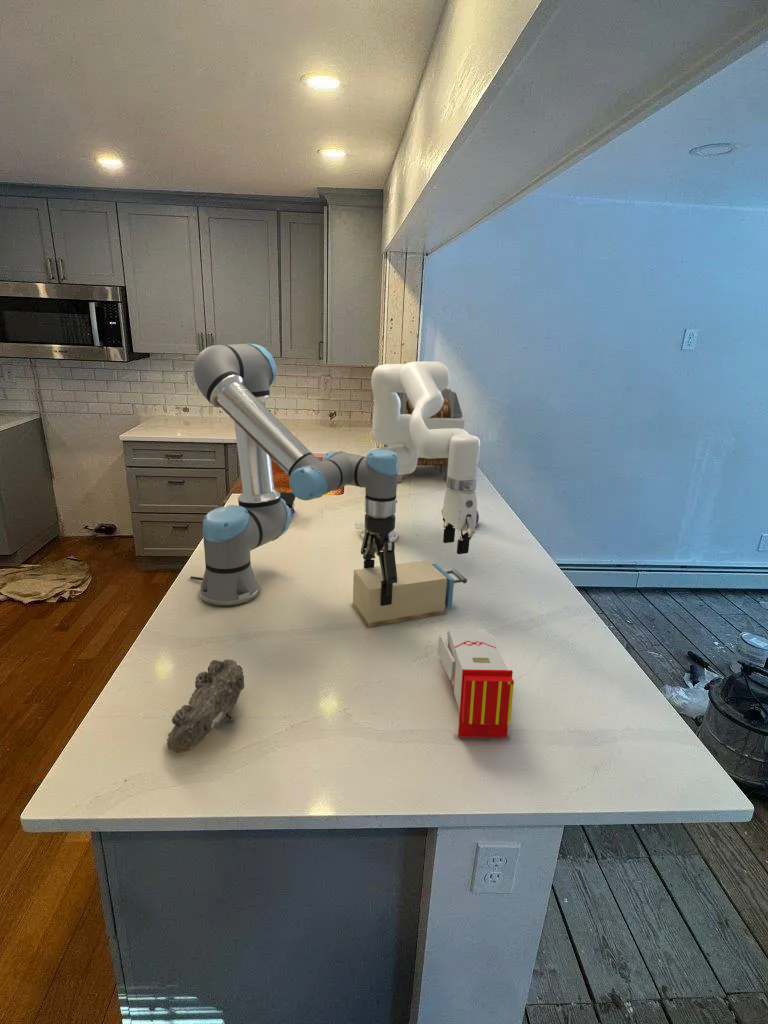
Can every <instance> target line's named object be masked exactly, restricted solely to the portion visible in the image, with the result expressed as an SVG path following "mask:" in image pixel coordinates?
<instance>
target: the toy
mask: <svg viewBox="0 0 768 1024" xmlns="http://www.w3.org/2000/svg"><path fill="white" fill-rule="evenodd" d="M446 640H447V643H446V641H445V639H444V636H443V635H442V634H439V637H438V646H437V656H438V657H439V659H440V661H441V663H442V666H443V668H444V670H445V672H446V674H447V677H448V679H449V681H450V684H451V687H452V690H453V693H454V697H455V701H456V705H457V708H458V711H459V714H458V715H459V716H458V730H457V731H458V732H457V737H458V738H508V731H509V726H510V725H511V717H512V707H513V697H514V696H513V695H514V684H515V680H514V679H513V673H514V671H513V670H512V669H508V667H507V665H506V662H505V661H504V659H503V658H502V655H501V653H500V651H499V649H498V647H497V643H496V639H495V637H494V635H493V634H491V632H490V631H489V629H467V628H466V629H465V628H463V629H461V628H460V629H459V628H448V630H447V639H446Z"/></svg>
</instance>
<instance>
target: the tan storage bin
mask: <svg viewBox="0 0 768 1024" xmlns="http://www.w3.org/2000/svg"><path fill="white" fill-rule="evenodd" d="M432 564H433V563H431V561H429V560H428V559H425V560H418V561H410V562H403V563H396V571H397V583H393V587H392V604H390V605H384V606H381V605H380V602H381V582H380V581H383V577H382V571H381V566H380V565H379V566H374V567H372V568H364V567H363V568H358V569H353V579H352V580H353V581H352V582H353V583H352V584H353V585H352V606H353V608H354V609H355V611H356V612H357V614H358V615H359V616H360V618H361V619H362V620H363V622H364V624H365V625H366V626H367V628H368V627H377V626H381V625H388V624H392V623H399V622H404V621H409V620H415V619H422V618H426V617H427V618H428V617H433V616H439V615H444V614H445V609H446V608H445V607H446V606H445V597H446V586H447V578H446V577H445V576H444V575H443V574H442V573H441V572H440V571H439V570H438V569H437V568H435V567H434V566H433V565H432Z"/></svg>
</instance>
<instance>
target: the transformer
mask: <svg viewBox="0 0 768 1024" xmlns="http://www.w3.org/2000/svg"><path fill="white" fill-rule="evenodd" d="M440 393H441V395H442V397H443V405H442V407H441V409H440V410H439V411H438V412H437V413H436V414H435V415H433V416H431V417H429V418H428V419H426V420H424V423H425V425H426V427H427V428H428V429H446V428H447V429H450V428H460V429H463V430H465V419H464V418H463V411H462V408H461V405H460V402H459V398H458V395H457V392H455V391H453V390H452V389H451V388H448V386H447V387H446V389H444V390H443V391H440ZM397 395H398V396H399V398H400V402H401V407H400V414H412V412H413V410H414V408H413V406H412V404H411V402H410V400H409V398H408V396H407V394H406V393H399V392H398V393H397ZM401 445H402V444H383V447H395V446H401ZM448 459H449V458H447V457H446V458H434V459H427V458H424V457H422V456H421V455H420V454H419V452H418V461H417V466H416V467H436V468H437V470H438V469H439V473H440V474H441V475H443V478H444V479H445V481H446V482H447V471H448ZM403 475H404V474H402V475H398V477H397V483H402V482H403Z"/></svg>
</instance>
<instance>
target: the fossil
mask: <svg viewBox="0 0 768 1024" xmlns="http://www.w3.org/2000/svg"><path fill="white" fill-rule="evenodd" d="M243 670H244V669H243V667H242V665H240V664H237V662H236V661H235V660H234V659H232V658H231V659H227V658H226V659H224V660H223V661H222V660H217V659H212V660H211V661H210V663H209V665H208V666H207V671H201V672H199V673H198V674H197V675H196V676H195V680H194V684H195V685H194V687H195V689H194V690H193V693H192V694H191V697H190V698H189V700H188V704H184V705H182V706H181V707H180V709H177V710H176V711H175V713H174V715H173V716H172V718H171V723H172V724H173V727H172V730H171V731H170V732H168V734H167V738H166V741H167V742H166V745H167V749H168V750H169V751H173V752H174V753H176V754H178V753H182V752H188V751H189V752H192V751H193V750H195V748H196V747H197V746H199V744H200V743H201V742H203V741H204V740H205V739H206V738H207V737H208V736H209V735H210V734H211V733H212V732H214V730H215V729H217V727H218V726H219V724H220V722H221V721H222V720H223V719H224V718H225V716H226V717H227V719H229V720H233V717H232V715H230V714H229V710H230V709H231V708H234V706H235V704H236V703H237V702H238V699H239V697H240V695H241V693H242V691H243V690H245V689H244V688H245V675H244V671H243Z"/></svg>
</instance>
